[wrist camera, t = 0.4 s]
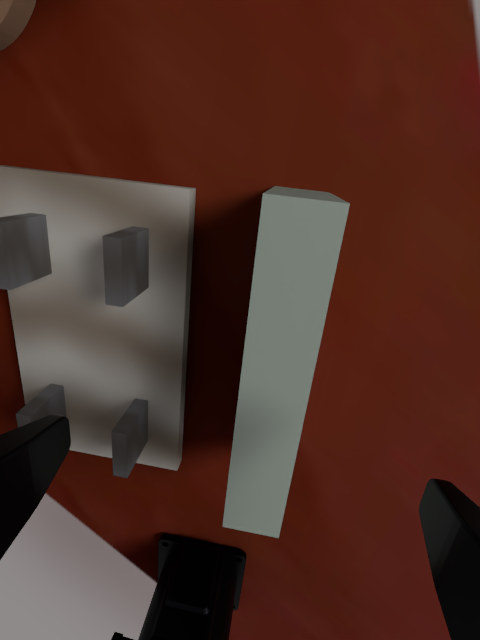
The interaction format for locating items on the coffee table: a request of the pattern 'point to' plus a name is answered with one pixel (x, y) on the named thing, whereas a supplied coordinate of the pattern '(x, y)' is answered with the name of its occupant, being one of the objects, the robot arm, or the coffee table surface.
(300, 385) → the cabinet door
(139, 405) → the cabinet panel
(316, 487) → the coffee table surface
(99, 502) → the coffee table surface
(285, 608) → the coffee table surface
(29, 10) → the door knob
